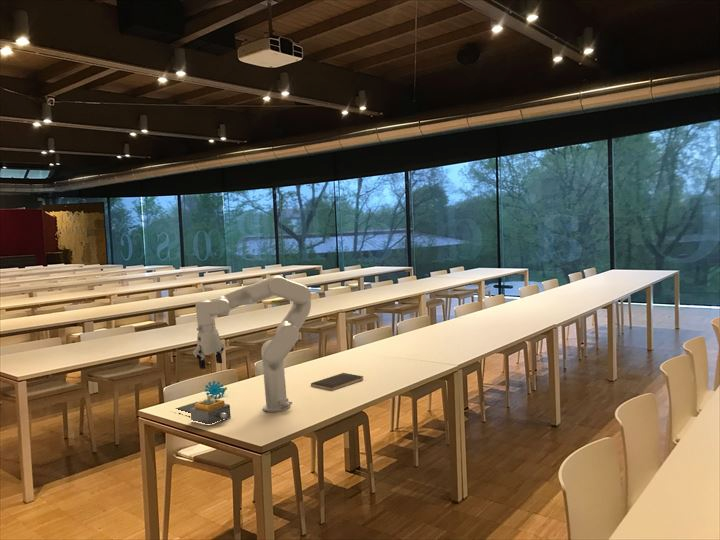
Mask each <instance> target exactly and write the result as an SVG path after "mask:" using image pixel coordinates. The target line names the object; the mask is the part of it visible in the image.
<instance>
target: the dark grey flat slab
mask: <svg viewBox="0 0 720 540" xmlns="http://www.w3.org/2000/svg"><path fill="white" fill-rule="evenodd" d="M199 402H200V401H199ZM199 402H198V401H196V402H195V401H194V402H192V403H188V404H186V405H181V406H179V407H176V408H175V409H178V410H181V411H185V412H188V413H191V412H190V409H192V408H194V407H195V404H196V403H199Z"/></svg>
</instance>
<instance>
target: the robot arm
mask: <svg viewBox="0 0 720 540" xmlns="http://www.w3.org/2000/svg"><path fill="white" fill-rule="evenodd" d="M273 296H277V297H278V298H281V299H284V300H287V301H290V302H292V305H291V307H290V309H289V311H288V312H287V314H286V315H285V317H284V318H283V319H282V320H281V321H280V323H279V324H278V325H277V327H276V331H275V334H274V336H273V338H272V339H268V340H266V341H265V342H263V344H262V346H261V349H260V350H261V351H260V353H261V362H262V370H263V380H264V381H263V382H264V395H265V404H264V405H263V406H262V410H263V411H264V412H267V413H268V412H269V413H279V412H282V411H286V410H288V409H290V408H291V406H292V405H293V402H292V401H289V397H287V387H286V376H285V375H286V373H285V363H284V360H285V358H286V357H287V356H288V354H289V353H290V351H291V350H292V349H293V347H294V346H295V345H296V343H297V341H298V340H299V337H300V332H299V331H300V329H301V327H302V326H303V324H304V323H305V321H306V320H307V318H308V317H309V315H310V312H311V308H312V300H311V299H312V291H311V289H310V288H309V287H308V286H306V285H304V284H301V283H299V282H298V283H297V282H295V281H292V280H289V279H288V278H284V277H283V276H282V275H278V274H277V275H276V274H275V275H273V276H270V277H266V278H265V279H262V280H260V281H257V282H254V283H252V284H250V285H247V286H243V287H242V288H238V289H236V290H234V291H231V292H229V293H226V294H223V295H221V296H219V297H217V298H216V299H215V300H210V299H204V300H202V299H201V300H198V301H196V302H195V313H196V321H197V323H196V324H197V327H196V331H197V336H196V337H197V338H196V339H197V340H196V341H197V342H196V343H197V344H196V345H197V346H196V348H195V349H194V350H193V351H192V353H193V356H194V357H195V359H197V361H198V367H199V369H201V370H205V369H206V360H205V357H206V356H208V355H212V354H215V363H217V364H223V358H222V355H223V352H224V350H225V348H224V347H225V343H224V342H222V341H221V337H220V334H219V331H218V329H217V328H216V321H215V320H216V318H215V316H217V317H219V316H226V315H228V314H229V313H230V312H231V311H232V310H233V309H236V308H238V307H242V306H244V305H252V304H256V303H259V302H261V301H264V300H267V299H269V298H272V297H273Z"/></svg>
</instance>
